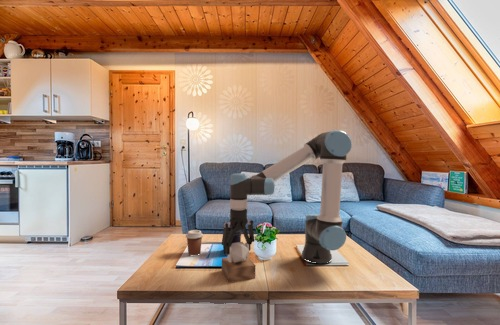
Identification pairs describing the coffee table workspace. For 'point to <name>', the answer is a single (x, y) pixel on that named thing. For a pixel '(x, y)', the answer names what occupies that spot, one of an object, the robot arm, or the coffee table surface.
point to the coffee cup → (194, 242)
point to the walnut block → (238, 270)
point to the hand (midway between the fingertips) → (238, 259)
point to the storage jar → (236, 237)
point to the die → (239, 252)
